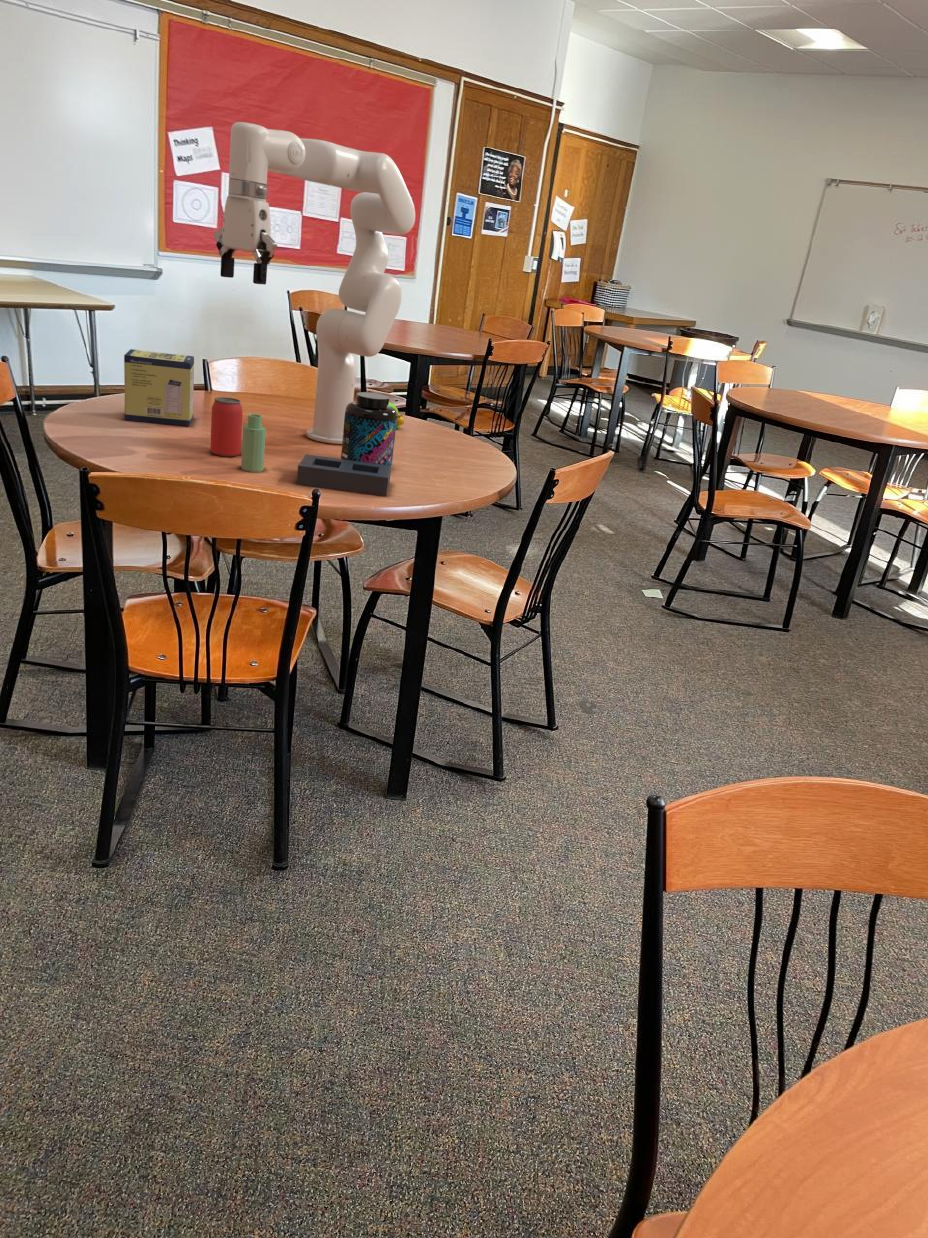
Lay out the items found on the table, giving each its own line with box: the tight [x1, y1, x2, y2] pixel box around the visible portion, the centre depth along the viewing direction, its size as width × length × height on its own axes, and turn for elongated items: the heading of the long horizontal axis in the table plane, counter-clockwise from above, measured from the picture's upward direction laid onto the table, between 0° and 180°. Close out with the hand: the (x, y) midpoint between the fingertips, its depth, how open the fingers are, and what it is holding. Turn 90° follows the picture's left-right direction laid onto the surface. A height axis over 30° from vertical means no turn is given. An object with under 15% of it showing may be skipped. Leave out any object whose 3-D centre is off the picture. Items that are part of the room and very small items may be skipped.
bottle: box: [240, 413, 267, 473], centre depth 190 cm, size 5×5×12 cm
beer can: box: [209, 396, 244, 458], centre depth 199 cm, size 7×7×12 cm
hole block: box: [296, 453, 392, 497], centre depth 191 cm, size 11×19×4 cm, turn 91°
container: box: [340, 391, 397, 467], centre depth 207 cm, size 12×12×17 cm
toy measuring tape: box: [388, 401, 405, 430], centre depth 255 cm, size 6×19×7 cm, turn 58°
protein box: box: [123, 348, 195, 427], centre depth 220 cm, size 10×16×16 cm
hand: (243, 280), depth 189 cm, fingers open, 9 cm apart
